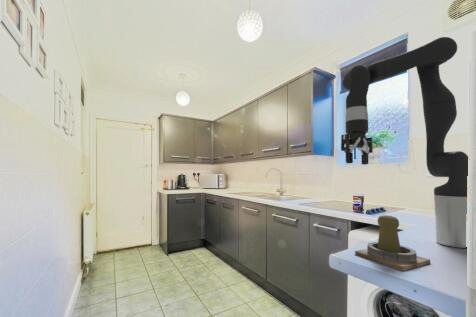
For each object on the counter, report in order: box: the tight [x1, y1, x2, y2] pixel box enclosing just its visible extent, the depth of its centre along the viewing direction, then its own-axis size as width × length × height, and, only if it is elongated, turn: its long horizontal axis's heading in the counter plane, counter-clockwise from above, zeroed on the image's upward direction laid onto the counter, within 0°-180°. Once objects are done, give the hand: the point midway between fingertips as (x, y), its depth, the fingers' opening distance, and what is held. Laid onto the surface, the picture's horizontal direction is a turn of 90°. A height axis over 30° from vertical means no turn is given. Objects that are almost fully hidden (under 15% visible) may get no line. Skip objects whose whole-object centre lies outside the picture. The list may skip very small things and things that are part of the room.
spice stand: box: [354, 241, 431, 272], centre depth 65 cm, size 13×13×3 cm
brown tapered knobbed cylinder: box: [377, 214, 401, 253], centre depth 65 cm, size 6×6×11 cm
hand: (357, 163), depth 83 cm, fingers open, 8 cm apart
